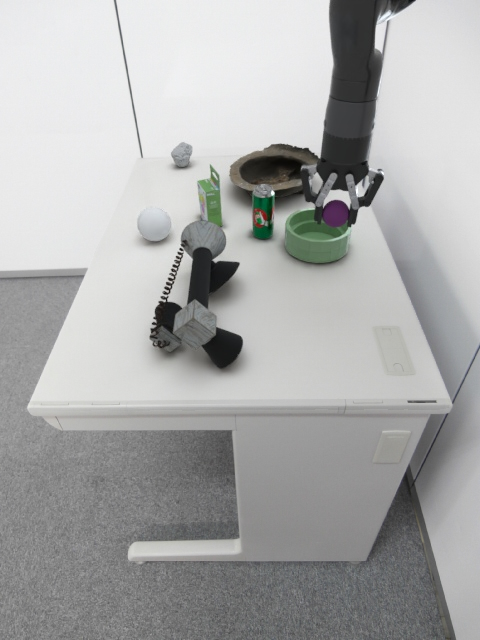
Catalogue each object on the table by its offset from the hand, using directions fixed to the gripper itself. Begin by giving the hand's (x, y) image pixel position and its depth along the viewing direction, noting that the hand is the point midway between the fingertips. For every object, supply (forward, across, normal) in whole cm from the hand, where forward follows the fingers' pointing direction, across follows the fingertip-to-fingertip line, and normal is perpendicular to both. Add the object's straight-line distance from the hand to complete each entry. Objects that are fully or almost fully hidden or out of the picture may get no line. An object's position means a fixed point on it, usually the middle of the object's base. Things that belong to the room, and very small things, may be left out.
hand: (333, 223), depth 79 cm
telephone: (+16, +23, +11) cm, 30 cm away
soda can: (+16, +16, -19) cm, 30 cm away
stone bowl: (+17, +16, -42) cm, 48 cm away
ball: (+17, +41, -14) cm, 46 cm away
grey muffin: (+17, +46, -55) cm, 74 cm away
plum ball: (-2, 0, 0) cm, 2 cm away
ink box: (+17, +30, -24) cm, 41 cm away
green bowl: (+16, +3, -16) cm, 23 cm away
